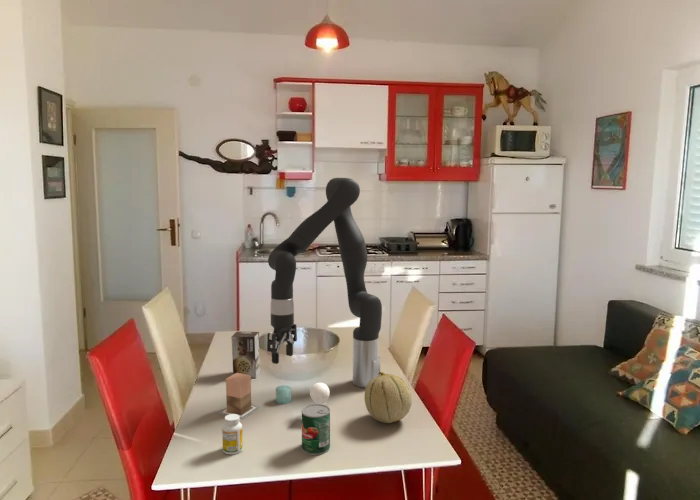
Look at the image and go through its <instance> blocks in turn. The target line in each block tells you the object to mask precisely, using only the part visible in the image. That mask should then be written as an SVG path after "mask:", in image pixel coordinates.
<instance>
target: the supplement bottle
mask: <svg viewBox="0 0 700 500" xmlns="http://www.w3.org/2000/svg"><path fill="white" fill-rule="evenodd" d="M240 421H241V419H240V417H239V415H237V414H229V415H227V416H225V415H224V423H223V425H222V427H221V428H222V429H221V431H222V451H223V453H224V454H227V455H228V456H229V455H238V454H239V453H241V451H242V449H244V448H243V447H244V446H243V443H244V442H243V424H242V423H241V422H240Z"/></svg>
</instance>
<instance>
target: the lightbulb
mask: <svg viewBox="0 0 700 500" xmlns="http://www.w3.org/2000/svg"><path fill="white" fill-rule="evenodd" d="M309 396H310V398H311V400H312V401H313V404H321V405H325V406H326V403H327V401H328V400H329V398H330V388H329V386H328V385H327V384H326V383H323V382H316V383H315V384H313V385H312V386H311V387H310V391H309Z"/></svg>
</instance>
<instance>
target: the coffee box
mask: <svg viewBox="0 0 700 500" xmlns="http://www.w3.org/2000/svg"><path fill="white" fill-rule="evenodd" d="M258 349H259V350H260V332H259V331H238V330H237V331H235V332H234V333H233V334H232V335H231V352H232V353H231V354H232V375H233V374H235V373H241V374H246V375H251V379H255V378H258V376H259V375H260V373H261V359H260V358H261V356H259V352H258Z"/></svg>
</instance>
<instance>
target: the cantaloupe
mask: <svg viewBox="0 0 700 500" xmlns="http://www.w3.org/2000/svg"><path fill="white" fill-rule="evenodd" d="M379 374H380V375H379V376H377V377H375V378H373V379H372V380H371V381H370V382H369V383H368V385H367V387H366V388H365V391H364V405H365V407H366V411H367V412H368V414H369V415H370V416H371V417H372V418H373V419H375V420H376V421H378V422H381V423H383V424H384V423H385V424H391V423H395V422H397V421H401V420H403V419H404V418H405V417H406V416H407V415H408V414H409V412H410V410H411V407H412V399H413V398H412V392H411V389H410V387H409V385H408V383H407V382H406V381H405V379H403V377H401V376H399V375H396V374H395V373H394V374H392V373H384V372H382V371H380V372H379Z"/></svg>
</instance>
